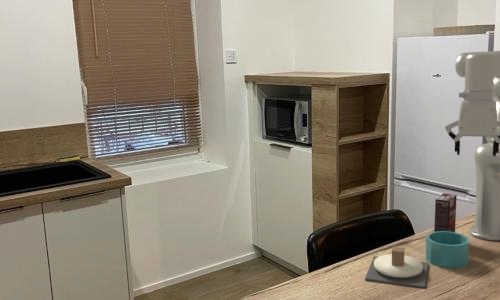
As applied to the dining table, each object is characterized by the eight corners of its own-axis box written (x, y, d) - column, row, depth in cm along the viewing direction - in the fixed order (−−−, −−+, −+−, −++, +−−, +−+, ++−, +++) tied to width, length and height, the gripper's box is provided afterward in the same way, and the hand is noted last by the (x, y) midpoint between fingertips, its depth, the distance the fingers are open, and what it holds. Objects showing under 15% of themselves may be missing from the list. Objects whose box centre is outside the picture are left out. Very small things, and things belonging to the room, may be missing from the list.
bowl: (427, 250, 156) (427, 229, 155) (467, 254, 152) (468, 233, 150) (424, 265, 146) (425, 243, 144) (468, 270, 141) (469, 247, 140)
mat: (374, 258, 152) (374, 256, 152) (428, 264, 146) (428, 262, 146) (365, 280, 138) (365, 278, 138) (424, 288, 132) (424, 286, 132)
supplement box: (448, 248, 157) (450, 201, 154) (433, 245, 160) (434, 199, 157) (455, 239, 164) (457, 194, 160) (440, 237, 166) (442, 192, 163)
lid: (377, 258, 151) (377, 238, 149) (423, 263, 146) (424, 243, 144) (370, 277, 138) (370, 255, 137) (421, 283, 133) (421, 261, 132)
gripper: (445, 98, 140) (444, 156, 143) (513, 97, 133) (510, 158, 137) (446, 95, 147) (444, 151, 150) (511, 95, 140) (507, 153, 143)
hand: (476, 154), depth 143 cm, fingers open, 9 cm apart
